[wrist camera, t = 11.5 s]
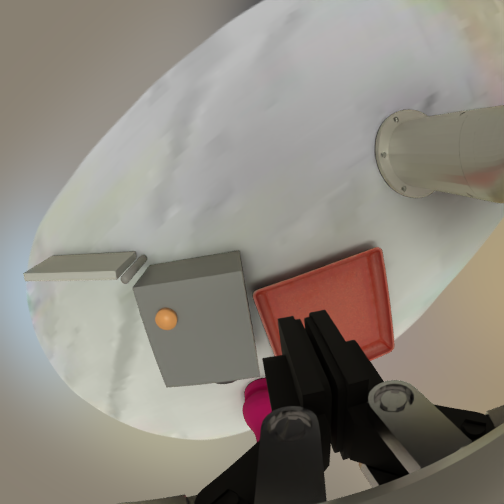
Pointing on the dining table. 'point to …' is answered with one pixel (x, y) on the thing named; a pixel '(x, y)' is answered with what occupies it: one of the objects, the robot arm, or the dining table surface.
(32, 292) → the dining table surface
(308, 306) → the plant saucer
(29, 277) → the side door
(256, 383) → the pepper mill
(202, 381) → the camera case
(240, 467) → the robot arm
